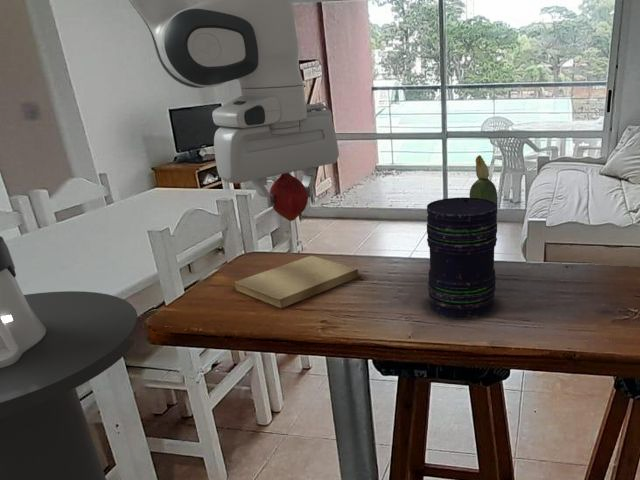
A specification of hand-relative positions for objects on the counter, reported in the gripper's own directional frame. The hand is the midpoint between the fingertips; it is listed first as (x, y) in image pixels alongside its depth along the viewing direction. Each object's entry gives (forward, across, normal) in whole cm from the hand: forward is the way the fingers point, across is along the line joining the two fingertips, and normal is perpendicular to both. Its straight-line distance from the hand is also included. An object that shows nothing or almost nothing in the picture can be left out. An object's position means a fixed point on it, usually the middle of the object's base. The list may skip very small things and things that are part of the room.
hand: (287, 201), depth 89 cm
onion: (+3, 0, 0) cm, 3 cm away
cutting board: (+14, 0, 0) cm, 14 cm away
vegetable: (+14, -20, +23) cm, 34 cm away
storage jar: (+14, -9, +27) cm, 32 cm away
